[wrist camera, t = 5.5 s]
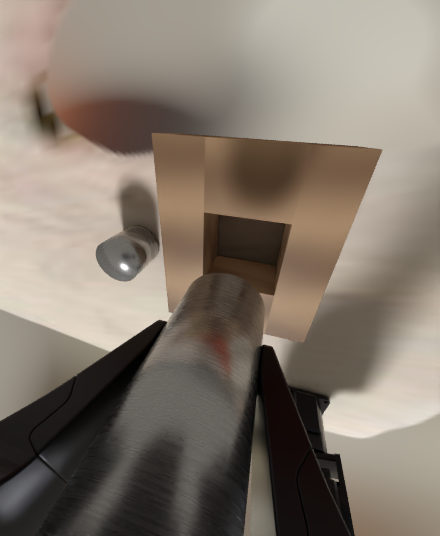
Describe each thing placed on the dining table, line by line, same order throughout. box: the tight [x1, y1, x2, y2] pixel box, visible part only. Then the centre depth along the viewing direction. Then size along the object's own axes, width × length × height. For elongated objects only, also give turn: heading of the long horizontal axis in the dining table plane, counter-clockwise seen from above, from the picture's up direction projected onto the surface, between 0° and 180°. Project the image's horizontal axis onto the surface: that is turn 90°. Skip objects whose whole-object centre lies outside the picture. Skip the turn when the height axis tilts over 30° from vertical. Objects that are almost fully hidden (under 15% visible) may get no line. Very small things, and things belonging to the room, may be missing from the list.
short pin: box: [96, 225, 159, 281], centre depth 21 cm, size 4×4×4 cm
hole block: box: [152, 133, 382, 343], centre depth 17 cm, size 14×12×4 cm
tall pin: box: [35, 273, 265, 536], centre depth 7 cm, size 4×4×8 cm
